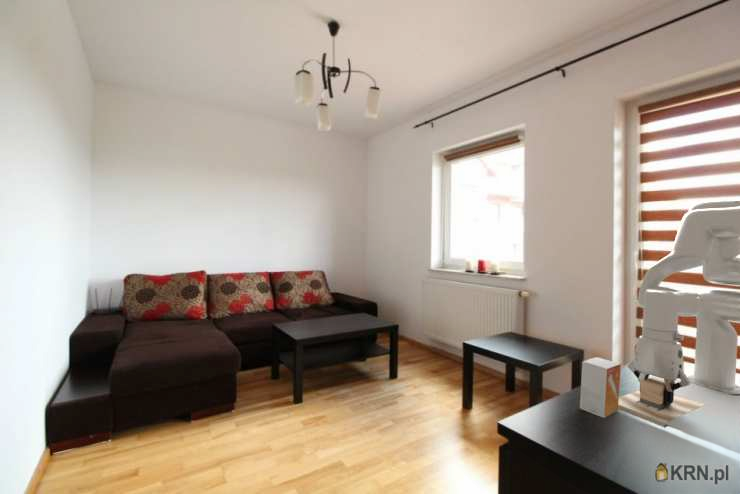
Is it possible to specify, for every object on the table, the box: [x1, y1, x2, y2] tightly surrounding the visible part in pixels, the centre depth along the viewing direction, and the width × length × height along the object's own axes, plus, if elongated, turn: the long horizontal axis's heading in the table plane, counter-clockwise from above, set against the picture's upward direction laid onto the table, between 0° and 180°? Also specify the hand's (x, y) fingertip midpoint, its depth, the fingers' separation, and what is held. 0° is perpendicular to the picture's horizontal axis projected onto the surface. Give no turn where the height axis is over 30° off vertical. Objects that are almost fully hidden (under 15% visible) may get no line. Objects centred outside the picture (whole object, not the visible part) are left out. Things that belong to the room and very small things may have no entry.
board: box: [618, 389, 705, 428], centre depth 99 cm, size 23×13×1 cm, turn 119°
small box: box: [579, 356, 622, 419], centre depth 96 cm, size 8×6×13 cm
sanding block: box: [639, 376, 670, 409], centre depth 99 cm, size 7×4×6 cm, turn 119°
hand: (655, 399), depth 99 cm, fingers closed on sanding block, 4 cm apart
